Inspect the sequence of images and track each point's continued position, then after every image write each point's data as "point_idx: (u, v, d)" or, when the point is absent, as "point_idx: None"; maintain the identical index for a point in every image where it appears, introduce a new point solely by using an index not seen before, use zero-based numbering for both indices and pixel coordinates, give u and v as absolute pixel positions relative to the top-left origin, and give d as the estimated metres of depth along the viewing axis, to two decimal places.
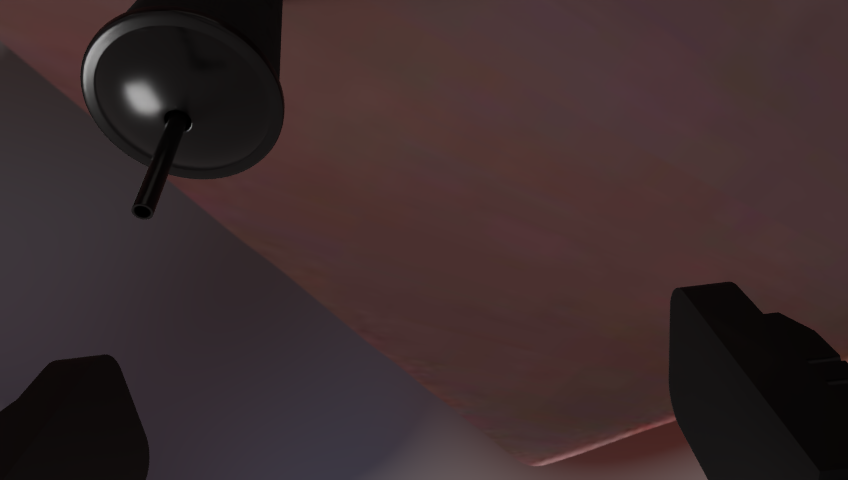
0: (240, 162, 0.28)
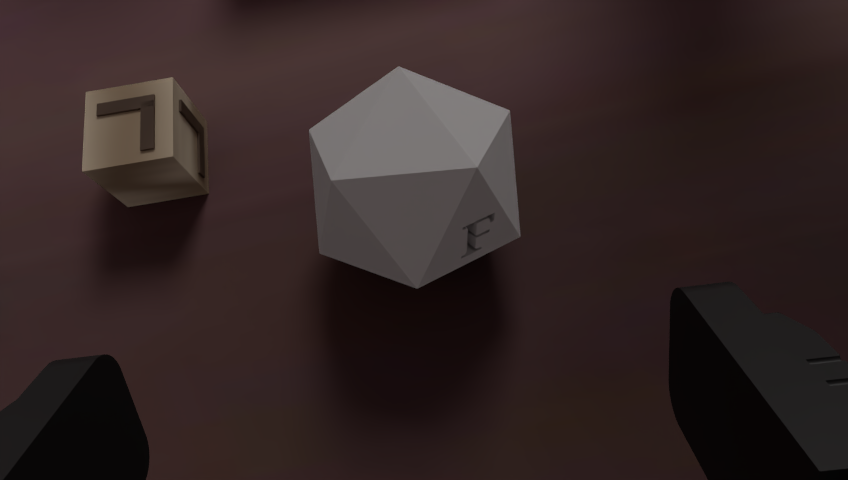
0: None
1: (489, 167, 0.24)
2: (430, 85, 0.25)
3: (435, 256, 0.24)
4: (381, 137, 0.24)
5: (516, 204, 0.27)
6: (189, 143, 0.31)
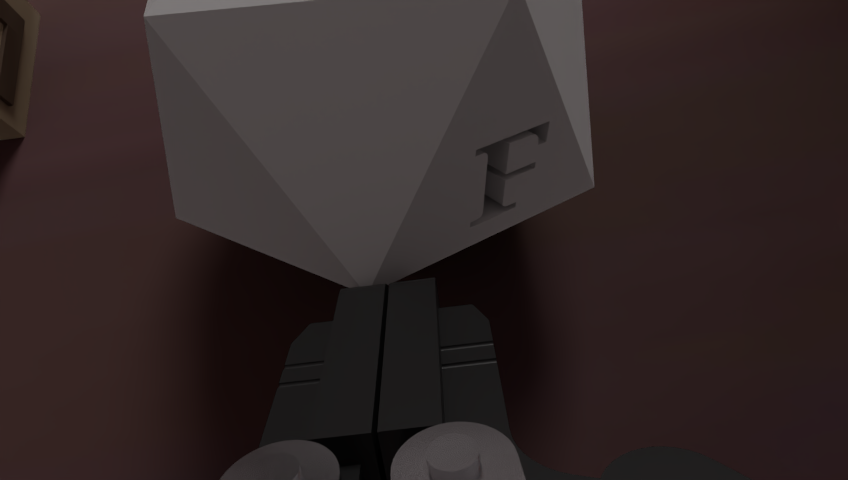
0: None
1: (542, 4, 0.10)
2: None
3: (409, 219, 0.10)
4: None
5: (587, 118, 0.13)
6: None
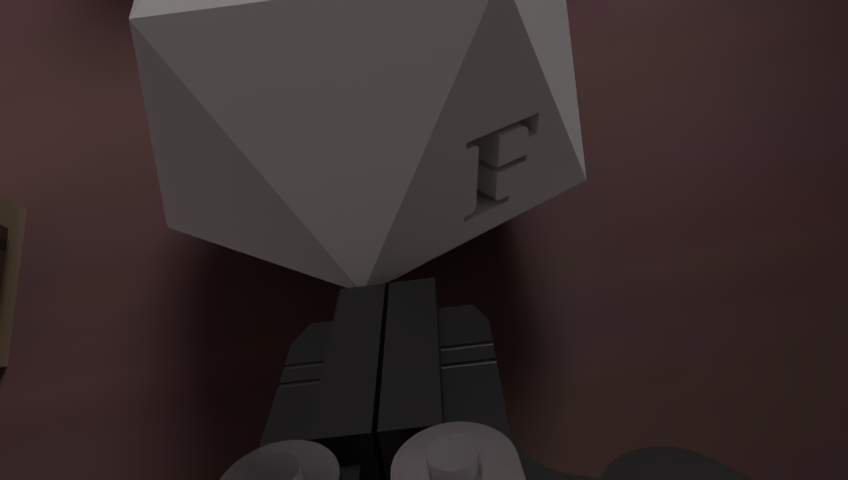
0: None
1: None
2: None
3: (402, 214, 0.10)
4: None
5: (576, 111, 0.13)
6: None
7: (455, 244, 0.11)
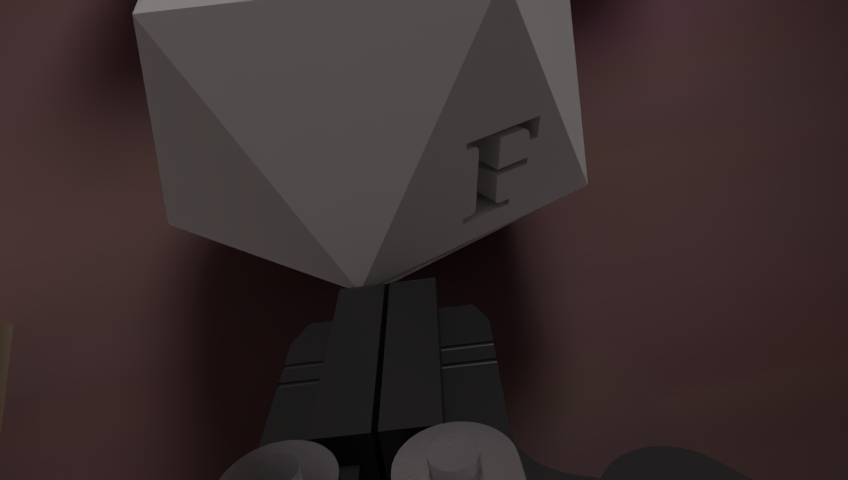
0: None
1: None
2: None
3: (401, 213, 0.10)
4: None
5: (579, 116, 0.13)
6: None
7: (454, 246, 0.11)
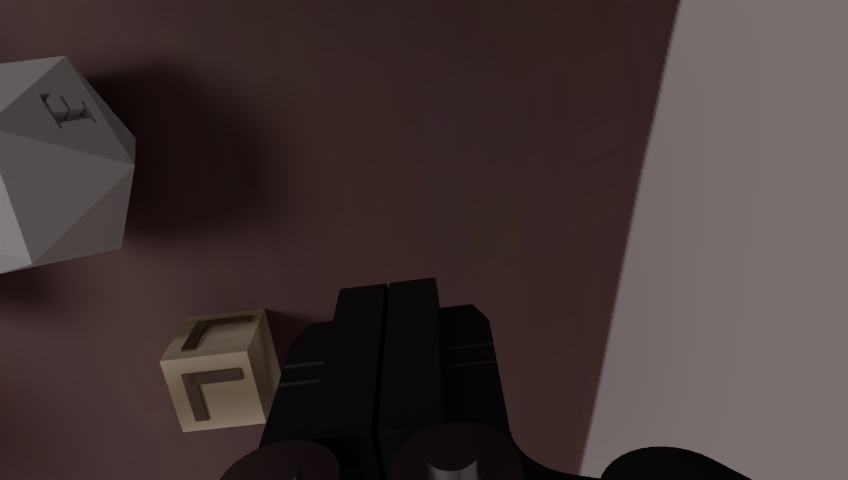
0: None
1: None
2: None
3: (96, 153, 0.25)
4: None
5: (28, 62, 0.26)
6: (222, 335, 0.32)
7: (108, 125, 0.26)
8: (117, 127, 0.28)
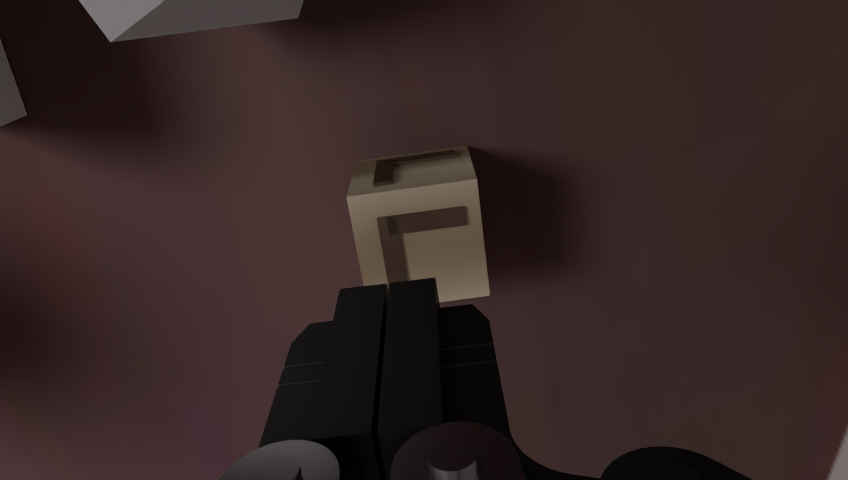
0: None
1: None
2: None
3: None
4: None
5: None
6: (424, 169, 0.22)
7: None
8: None
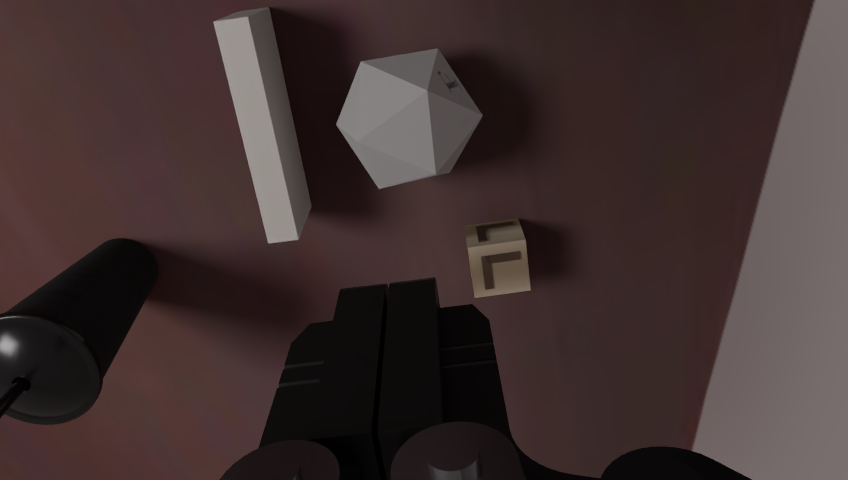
0: (37, 418, 0.40)
1: (418, 79, 0.39)
2: (365, 119, 0.40)
3: (467, 107, 0.41)
4: (407, 148, 0.40)
5: (419, 52, 0.42)
6: (500, 232, 0.48)
7: None
8: None
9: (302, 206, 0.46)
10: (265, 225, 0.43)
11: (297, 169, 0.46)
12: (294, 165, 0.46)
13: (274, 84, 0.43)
